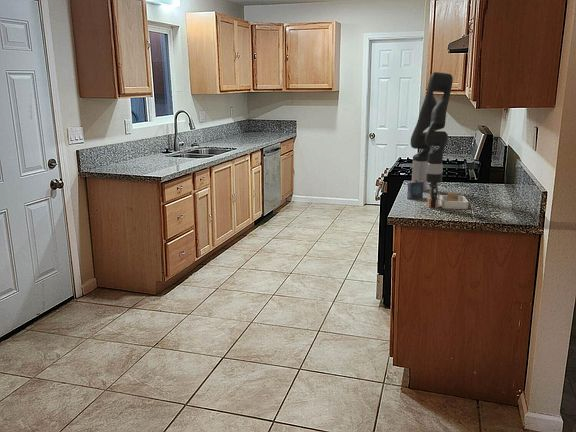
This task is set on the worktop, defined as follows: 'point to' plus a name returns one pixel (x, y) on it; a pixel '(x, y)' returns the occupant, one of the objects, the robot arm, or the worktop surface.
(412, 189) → the flask
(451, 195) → the walnut block
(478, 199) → the worktop surface
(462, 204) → the tray
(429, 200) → the terracotta block
